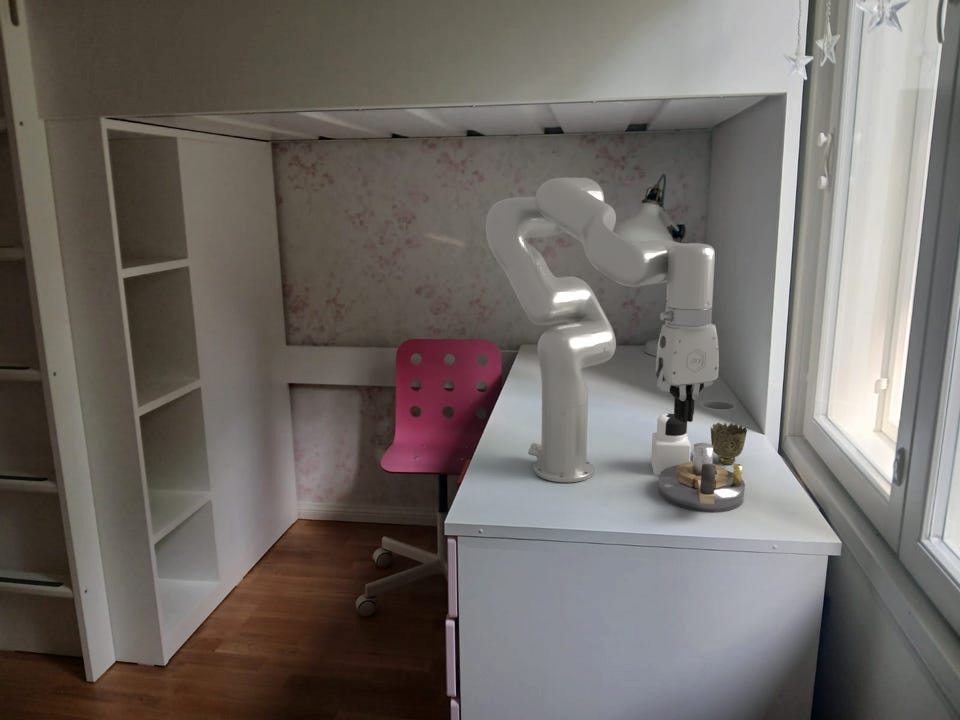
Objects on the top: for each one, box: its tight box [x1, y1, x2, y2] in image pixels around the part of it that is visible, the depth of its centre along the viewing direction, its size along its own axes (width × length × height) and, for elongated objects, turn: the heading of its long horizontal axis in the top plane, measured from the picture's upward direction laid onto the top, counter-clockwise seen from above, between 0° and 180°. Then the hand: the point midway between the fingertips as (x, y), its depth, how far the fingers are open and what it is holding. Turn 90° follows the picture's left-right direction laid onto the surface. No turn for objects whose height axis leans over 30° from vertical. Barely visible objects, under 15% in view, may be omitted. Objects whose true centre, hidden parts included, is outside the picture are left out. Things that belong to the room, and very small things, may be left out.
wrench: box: [676, 460, 729, 504], centre depth 137 cm, size 16×10×7 cm, turn 168°
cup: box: [710, 422, 748, 466], centre depth 157 cm, size 8×7×8 cm
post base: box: [658, 442, 746, 513], centre depth 141 cm, size 16×16×10 cm
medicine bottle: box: [650, 413, 692, 476], centre depth 153 cm, size 7×7×12 cm
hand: (683, 419), depth 128 cm, fingers closed
